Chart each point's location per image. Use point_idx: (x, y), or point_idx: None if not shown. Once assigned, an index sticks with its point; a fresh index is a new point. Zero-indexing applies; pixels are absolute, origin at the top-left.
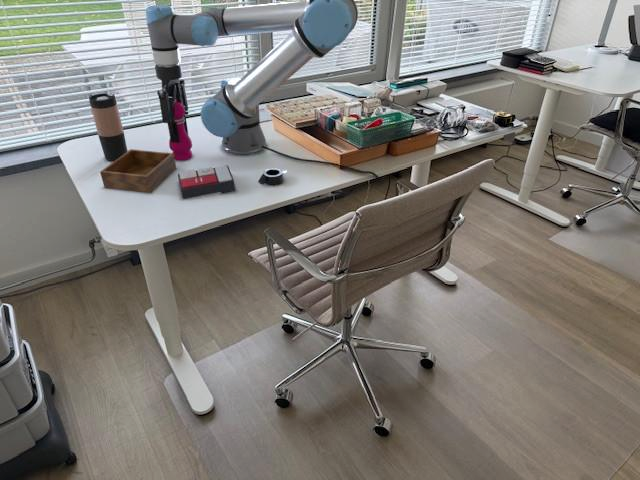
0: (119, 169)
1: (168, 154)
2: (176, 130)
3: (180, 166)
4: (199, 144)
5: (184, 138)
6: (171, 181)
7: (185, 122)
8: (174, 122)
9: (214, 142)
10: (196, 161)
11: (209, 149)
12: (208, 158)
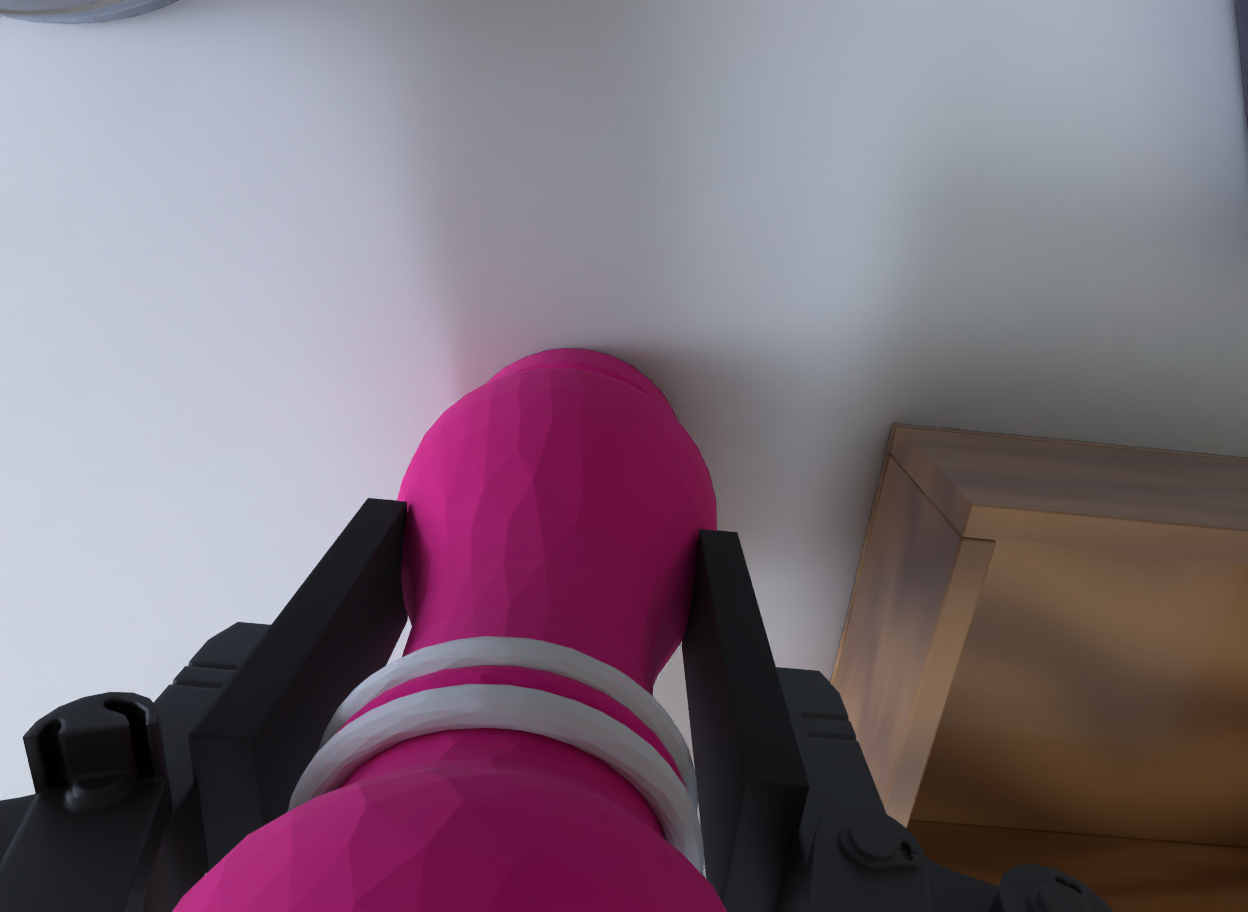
0: (1095, 887)
1: (987, 559)
2: (773, 664)
3: (821, 400)
4: (154, 383)
5: (632, 487)
6: (1215, 368)
7: (319, 633)
8: (834, 816)
9: (14, 202)
10: (665, 255)
11: (263, 200)
12: (552, 120)
